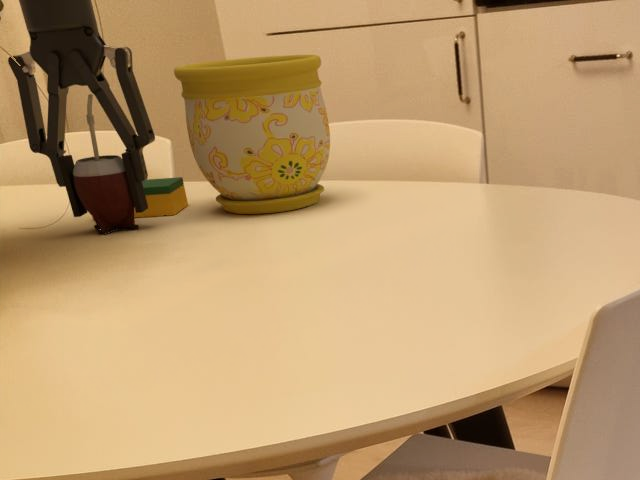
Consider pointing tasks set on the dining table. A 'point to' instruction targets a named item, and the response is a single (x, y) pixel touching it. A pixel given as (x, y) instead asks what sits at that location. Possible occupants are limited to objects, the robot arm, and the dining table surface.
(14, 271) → the dining table surface
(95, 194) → the mate gourd
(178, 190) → the sponge
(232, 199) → the flowerpot
